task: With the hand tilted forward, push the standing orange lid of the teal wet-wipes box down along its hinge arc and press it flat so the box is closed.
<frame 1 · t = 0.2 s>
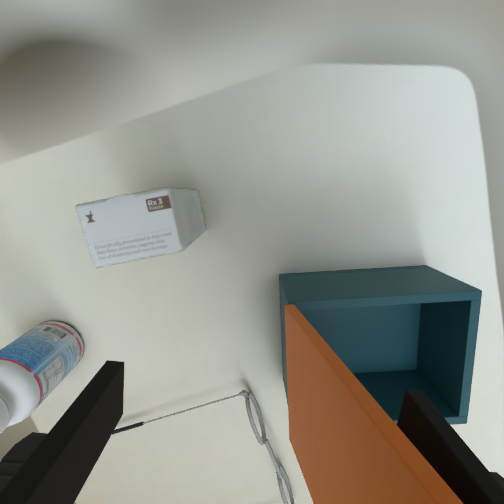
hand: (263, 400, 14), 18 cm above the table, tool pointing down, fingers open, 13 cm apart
pill bottle: (59, 344, 33), on the table
eyeglasses: (201, 460, 37), on the table
cosmetic box: (175, 213, 30), on the table
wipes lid: (334, 459, 17), point 16 cm above the table, hinge at 80.0°
wipes box: (351, 324, 33), on the table
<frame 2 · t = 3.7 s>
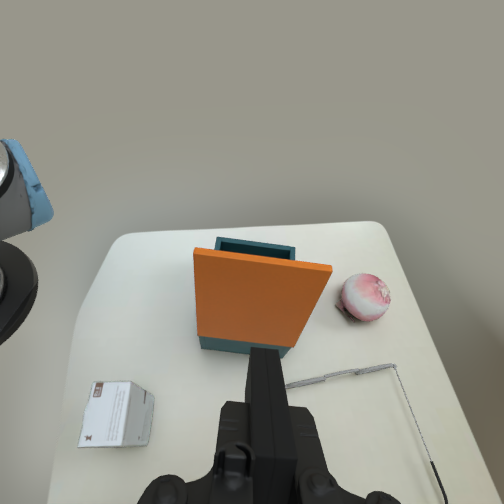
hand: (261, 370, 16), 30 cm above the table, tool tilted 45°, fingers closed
eyeglasses: (356, 446, 41), on the table
onion: (355, 304, 52), on the table
cosmetic box: (135, 419, 40), on the table
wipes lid: (253, 306, 33), point 16 cm above the table, hinge at 80.0°
wipes box: (247, 305, 50), on the table
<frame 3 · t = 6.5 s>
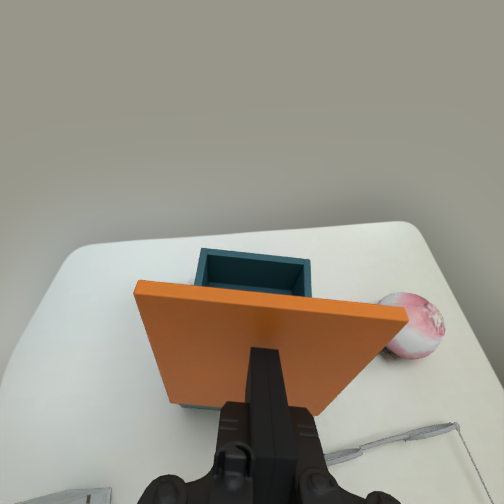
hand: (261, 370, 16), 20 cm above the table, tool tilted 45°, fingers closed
onion: (390, 333, 39), on the table
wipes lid: (255, 368, 20), point 16 cm above the table, hinge at 79.8°, touching gripper
wipes box: (245, 340, 37), on the table
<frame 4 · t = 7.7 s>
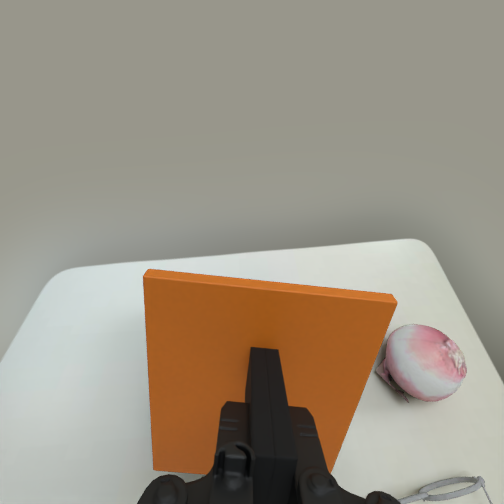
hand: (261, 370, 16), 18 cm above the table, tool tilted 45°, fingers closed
onion: (403, 367, 35), on the table
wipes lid: (253, 396, 18), point 15 cm above the table, hinge at 58.1°
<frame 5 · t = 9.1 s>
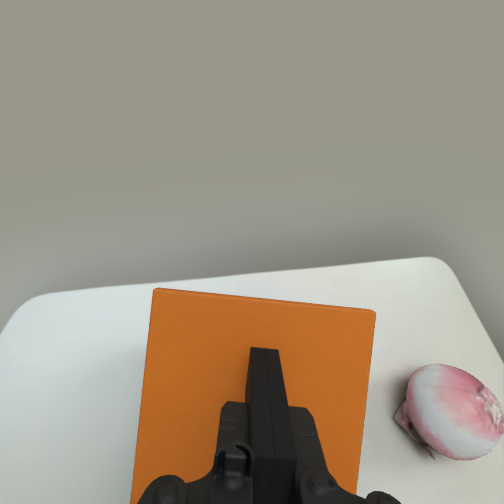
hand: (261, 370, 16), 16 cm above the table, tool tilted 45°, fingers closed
onion: (424, 412, 31), on the table
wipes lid: (250, 440, 17), point 13 cm above the table, hinge at 32.7°, touching gripper
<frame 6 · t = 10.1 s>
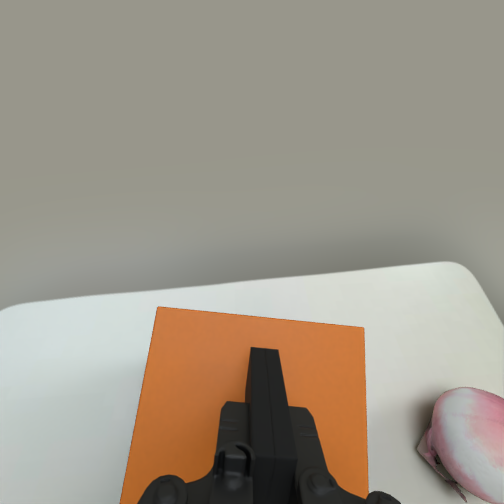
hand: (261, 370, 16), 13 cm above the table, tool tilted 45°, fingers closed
onion: (451, 441, 27), on the table
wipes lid: (249, 472, 16), point 10 cm above the table, hinge at 13.7°, touching gripper
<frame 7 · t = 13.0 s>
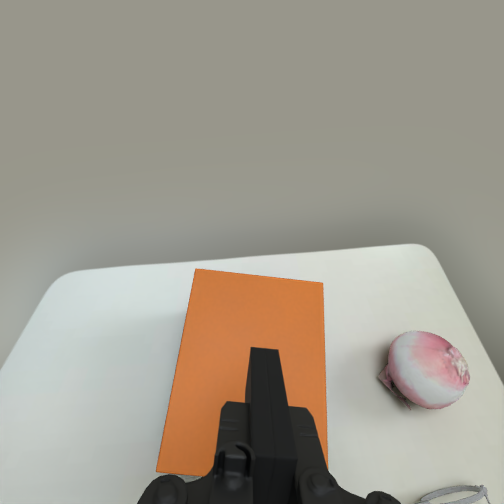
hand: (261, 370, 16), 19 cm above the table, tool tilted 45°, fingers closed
onion: (405, 374, 35), on the table
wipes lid: (252, 363, 26), point 9 cm above the table, hinge at 4.2°
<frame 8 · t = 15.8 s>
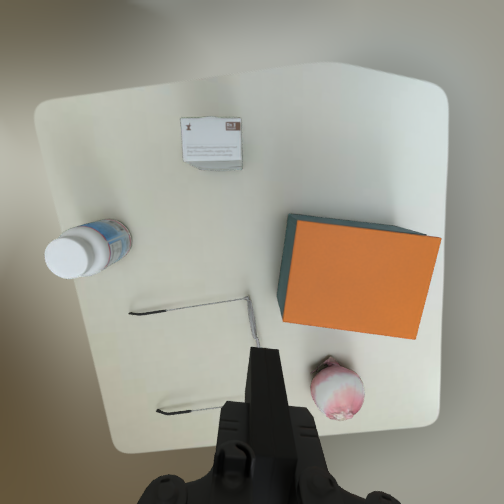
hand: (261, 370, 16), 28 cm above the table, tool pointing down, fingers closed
pill bottle: (112, 239, 43), on the table
eyeglasses: (202, 352, 48), on the table
onion: (330, 374, 49), on the table
cosmetic box: (221, 153, 41), on the table
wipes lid: (357, 281, 36), point 9 cm above the table, hinge at 4.2°
wipes box: (334, 262, 44), on the table
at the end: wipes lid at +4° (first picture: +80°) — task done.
